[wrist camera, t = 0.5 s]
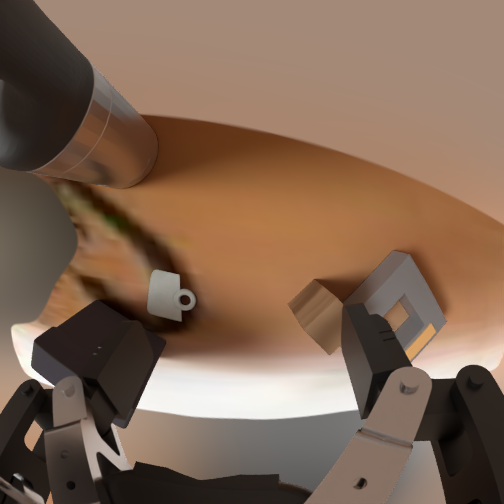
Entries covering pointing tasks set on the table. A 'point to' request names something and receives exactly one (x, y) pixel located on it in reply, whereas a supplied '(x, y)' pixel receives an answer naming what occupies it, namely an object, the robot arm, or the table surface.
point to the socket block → (402, 301)
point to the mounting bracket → (167, 296)
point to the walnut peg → (319, 315)
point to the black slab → (83, 346)
